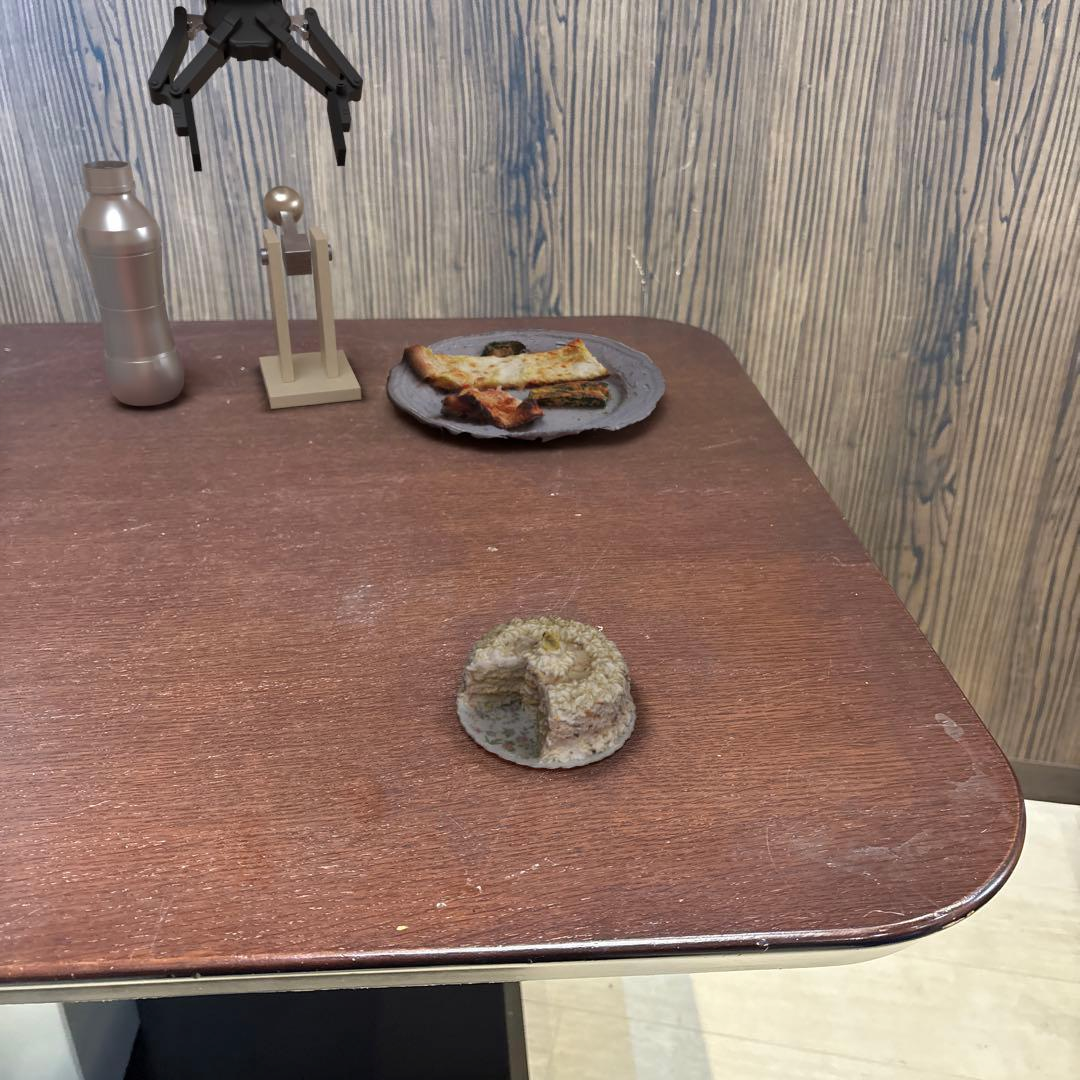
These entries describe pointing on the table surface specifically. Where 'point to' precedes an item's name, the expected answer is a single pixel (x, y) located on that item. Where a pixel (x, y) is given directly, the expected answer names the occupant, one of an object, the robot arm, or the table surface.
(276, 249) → the bracket
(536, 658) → the cake
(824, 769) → the table surface
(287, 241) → the lever
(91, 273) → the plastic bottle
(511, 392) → the food plate
